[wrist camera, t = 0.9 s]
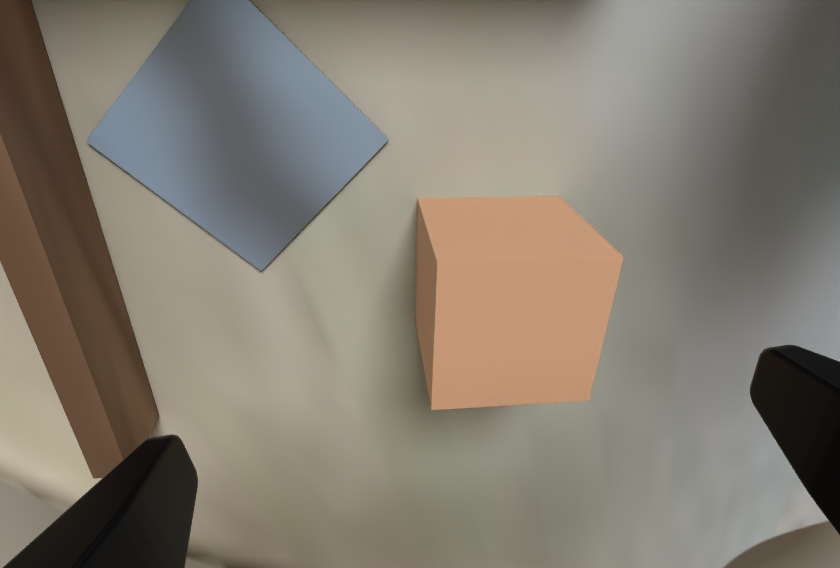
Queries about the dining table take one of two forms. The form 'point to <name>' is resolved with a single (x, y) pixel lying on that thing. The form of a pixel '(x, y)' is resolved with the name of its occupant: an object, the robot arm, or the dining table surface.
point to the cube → (510, 300)
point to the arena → (158, 187)
